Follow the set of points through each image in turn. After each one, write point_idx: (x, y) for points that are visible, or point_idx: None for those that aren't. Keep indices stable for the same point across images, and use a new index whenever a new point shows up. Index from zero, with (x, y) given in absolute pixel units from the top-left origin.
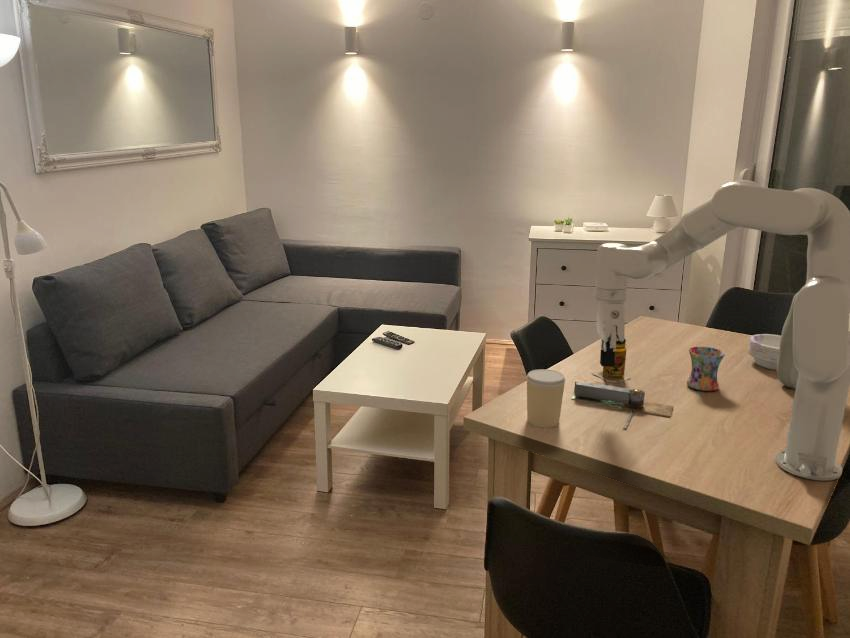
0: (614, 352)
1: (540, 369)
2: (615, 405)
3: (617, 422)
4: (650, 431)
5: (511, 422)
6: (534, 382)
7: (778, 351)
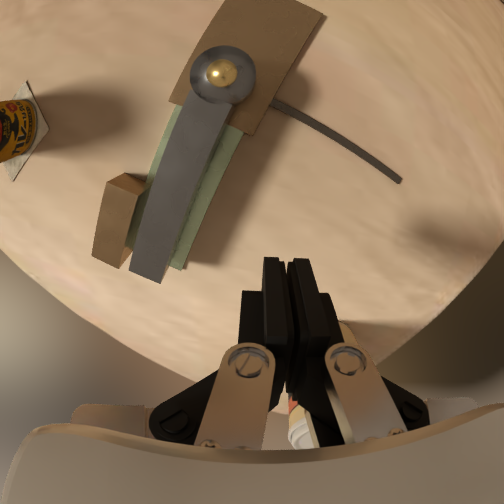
0: (327, 329)
1: (294, 444)
2: (231, 149)
3: (355, 182)
4: (413, 116)
5: None
6: None
7: None
